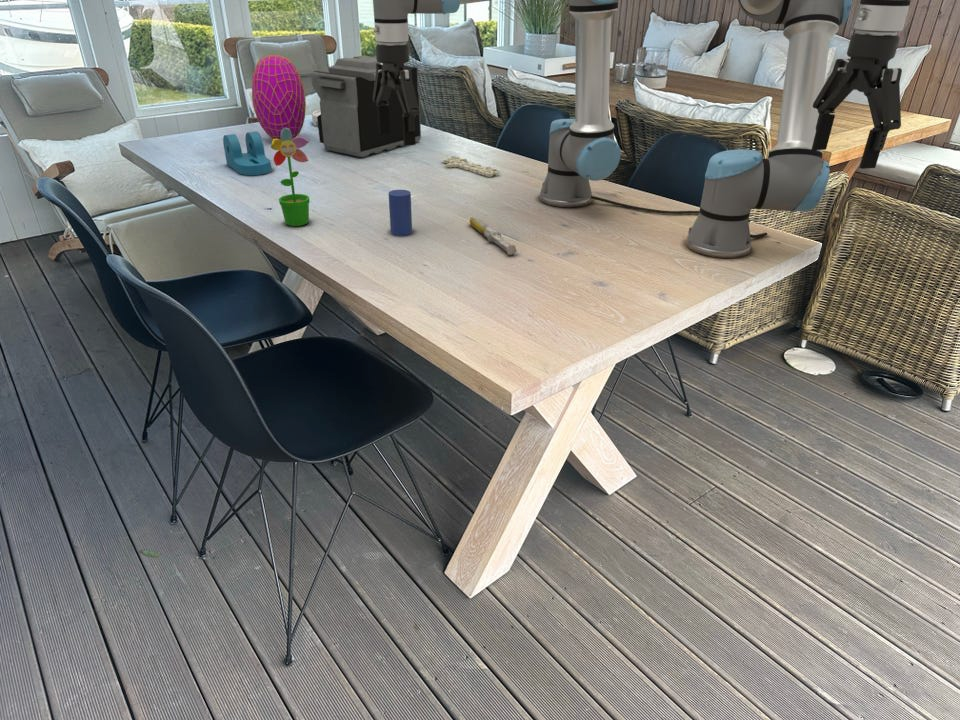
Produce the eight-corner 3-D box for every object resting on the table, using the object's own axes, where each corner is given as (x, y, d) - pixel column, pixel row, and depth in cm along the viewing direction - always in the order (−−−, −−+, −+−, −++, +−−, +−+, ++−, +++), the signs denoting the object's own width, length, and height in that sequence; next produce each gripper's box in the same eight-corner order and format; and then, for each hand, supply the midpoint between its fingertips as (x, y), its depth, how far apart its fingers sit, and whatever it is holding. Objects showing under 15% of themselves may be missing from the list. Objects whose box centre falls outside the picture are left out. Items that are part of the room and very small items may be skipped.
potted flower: (284, 229, 179) (270, 130, 166) (277, 220, 185) (263, 124, 172) (319, 224, 183) (308, 127, 170) (311, 215, 188) (300, 121, 176)
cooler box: (383, 133, 276) (378, 52, 261) (425, 141, 265) (422, 56, 250) (314, 150, 251) (304, 61, 235) (358, 160, 240) (350, 67, 224)
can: (416, 232, 178) (414, 193, 173) (398, 237, 175) (396, 197, 170) (404, 227, 182) (402, 188, 176) (386, 231, 179) (384, 192, 173)
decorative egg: (293, 132, 276) (283, 50, 261) (319, 140, 264) (310, 56, 249) (249, 139, 265) (236, 54, 250) (273, 148, 253) (261, 60, 238)
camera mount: (227, 164, 233) (221, 132, 227) (257, 160, 238) (252, 129, 233) (244, 176, 220) (239, 143, 215) (276, 172, 225) (271, 139, 220)
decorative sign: (432, 159, 238) (454, 155, 243) (432, 162, 238) (454, 157, 244) (482, 176, 221) (505, 170, 226) (482, 179, 221) (505, 173, 227)
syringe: (466, 223, 184) (466, 213, 183) (479, 221, 185) (479, 212, 184) (502, 257, 164) (503, 246, 163) (517, 255, 165) (517, 244, 164)
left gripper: (354, 38, 163) (361, 130, 174) (402, 50, 145) (406, 152, 156) (383, 37, 166) (388, 127, 177) (433, 48, 148) (435, 148, 159)
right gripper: (811, 26, 127) (784, 143, 138) (912, 41, 106) (871, 177, 117) (846, 26, 129) (817, 142, 139) (953, 40, 108) (908, 175, 118)
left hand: (396, 139), depth 166 cm, fingers open, 13 cm apart
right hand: (841, 158), depth 128 cm, fingers open, 13 cm apart
